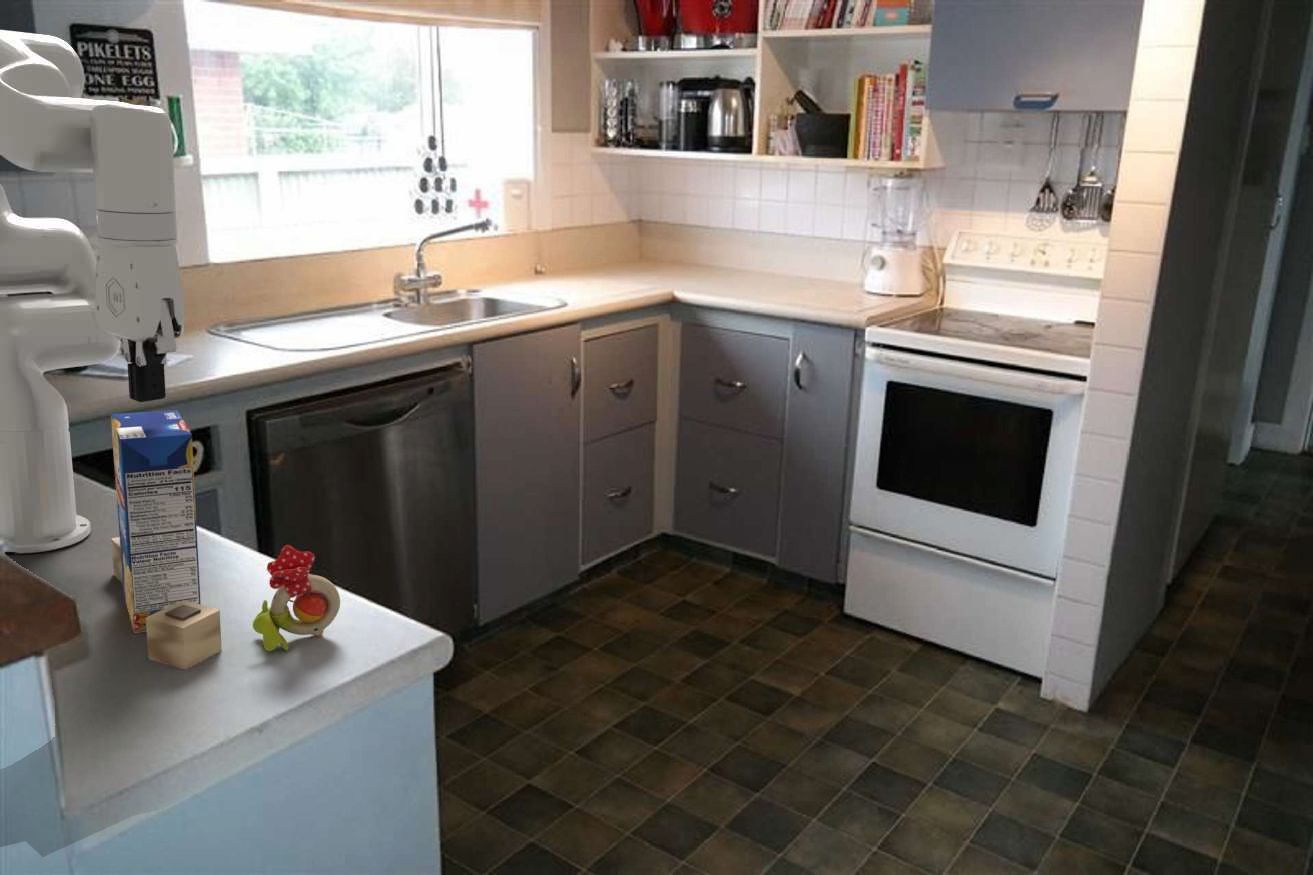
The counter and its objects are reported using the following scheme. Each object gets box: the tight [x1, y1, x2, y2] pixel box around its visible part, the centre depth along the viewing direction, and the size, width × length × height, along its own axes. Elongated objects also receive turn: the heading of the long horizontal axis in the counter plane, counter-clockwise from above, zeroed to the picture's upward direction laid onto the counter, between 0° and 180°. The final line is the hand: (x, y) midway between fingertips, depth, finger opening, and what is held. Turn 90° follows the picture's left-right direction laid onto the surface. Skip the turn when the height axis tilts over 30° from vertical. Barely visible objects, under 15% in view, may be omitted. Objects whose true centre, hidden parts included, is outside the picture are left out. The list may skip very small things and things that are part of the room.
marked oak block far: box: [110, 536, 123, 584], centre depth 130 cm, size 5×5×5 cm
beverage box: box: [110, 409, 202, 633], centre depth 120 cm, size 7×11×22 cm, turn 31°
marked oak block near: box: [146, 600, 222, 670], centre depth 112 cm, size 5×5×5 cm
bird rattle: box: [252, 544, 341, 652], centre depth 117 cm, size 6×11×9 cm
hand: (147, 398), depth 116 cm, fingers closed
